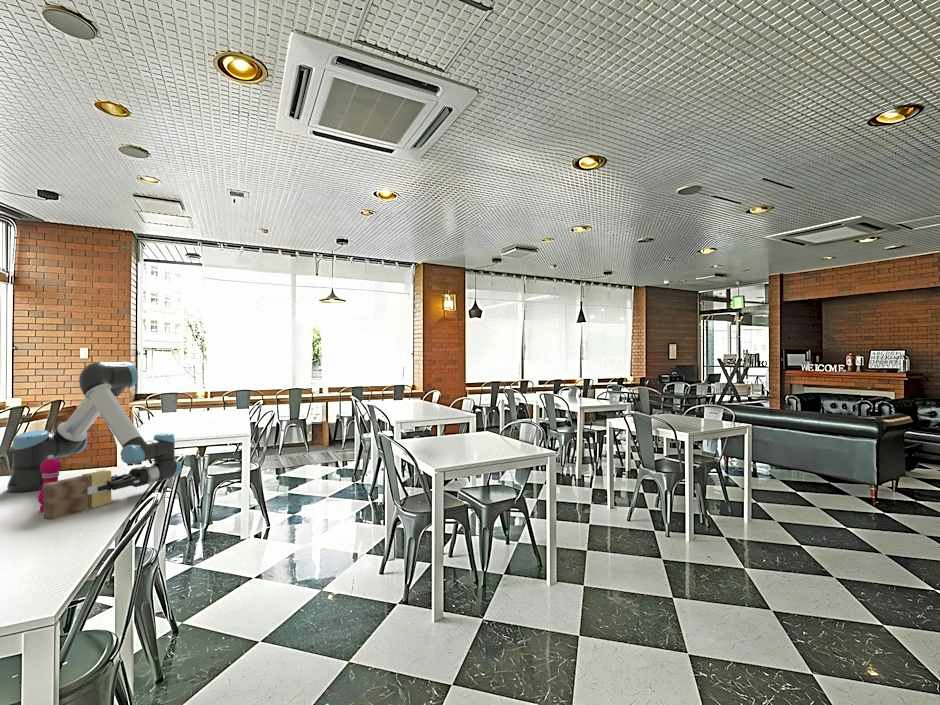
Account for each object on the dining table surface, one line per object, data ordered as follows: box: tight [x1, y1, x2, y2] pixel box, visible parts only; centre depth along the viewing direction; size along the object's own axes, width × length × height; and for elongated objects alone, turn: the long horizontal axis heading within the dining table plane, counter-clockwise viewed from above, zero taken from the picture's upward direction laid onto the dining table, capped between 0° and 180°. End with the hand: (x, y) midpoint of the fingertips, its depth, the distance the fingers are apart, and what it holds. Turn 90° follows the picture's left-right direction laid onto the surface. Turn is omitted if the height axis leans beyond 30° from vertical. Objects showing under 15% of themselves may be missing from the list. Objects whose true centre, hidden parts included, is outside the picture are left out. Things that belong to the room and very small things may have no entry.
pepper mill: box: [37, 455, 62, 513], centre depth 188 cm, size 7×7×20 cm
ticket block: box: [43, 475, 89, 521], centre depth 183 cm, size 12×4×12 cm, turn 160°
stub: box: [81, 469, 112, 510], centre depth 193 cm, size 8×4×12 cm, turn 160°
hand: (83, 490), depth 188 cm, fingers closed on stub, 4 cm apart
